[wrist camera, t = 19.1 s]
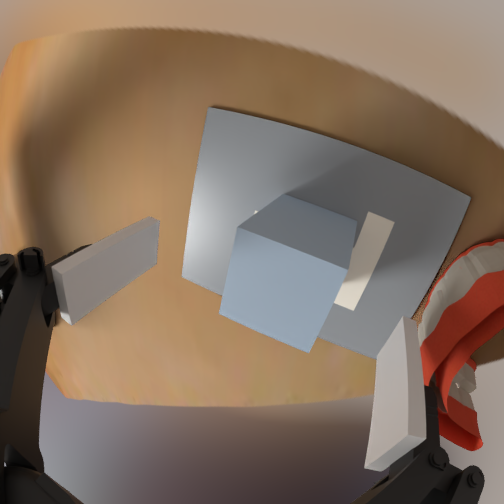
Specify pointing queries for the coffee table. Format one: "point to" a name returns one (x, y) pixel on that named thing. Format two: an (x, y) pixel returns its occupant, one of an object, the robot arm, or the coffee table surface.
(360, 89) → the coffee table surface
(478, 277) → the toy
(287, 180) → the letter card
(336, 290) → the block
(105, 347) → the coffee table surface
